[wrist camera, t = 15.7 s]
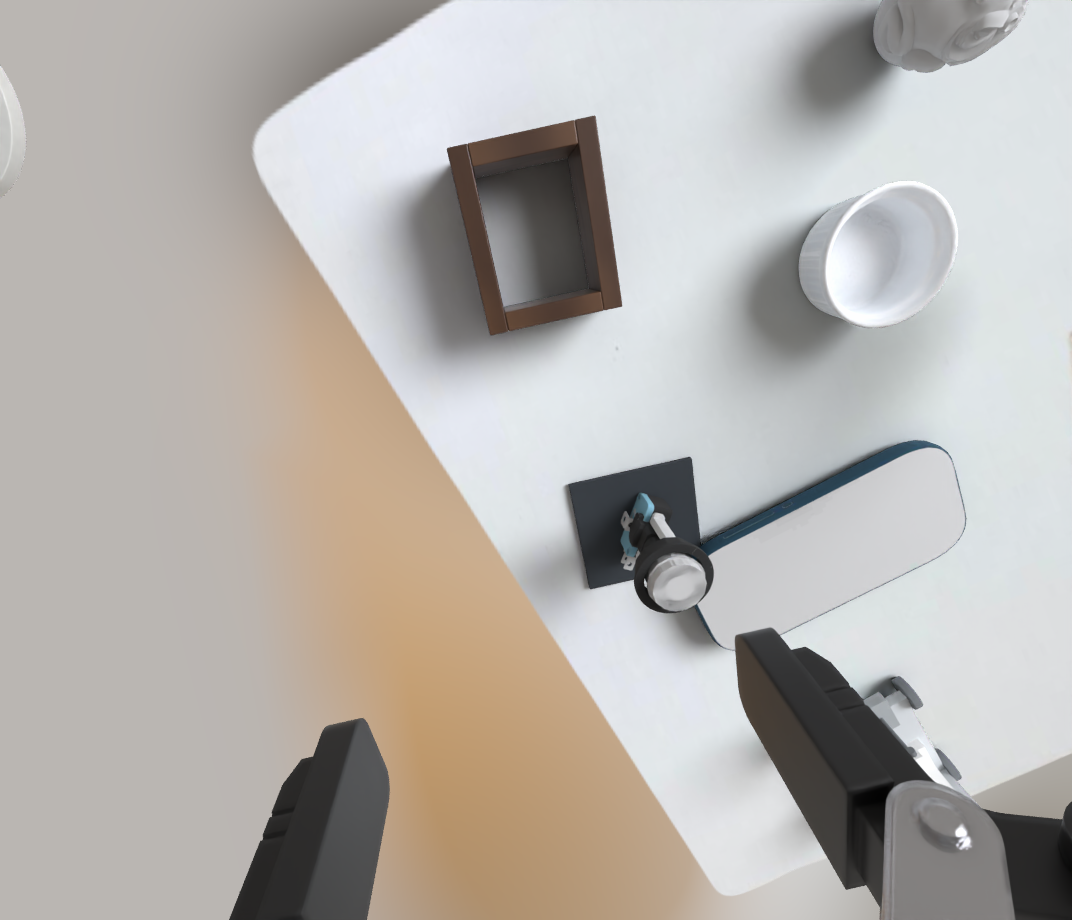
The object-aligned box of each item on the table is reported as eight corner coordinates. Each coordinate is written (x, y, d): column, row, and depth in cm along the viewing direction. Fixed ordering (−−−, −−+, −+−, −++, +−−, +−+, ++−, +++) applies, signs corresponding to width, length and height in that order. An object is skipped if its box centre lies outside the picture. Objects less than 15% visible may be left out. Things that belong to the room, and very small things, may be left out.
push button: (651, 566, 45) (693, 645, 36) (593, 553, 44) (620, 629, 35) (680, 498, 43) (733, 562, 34) (620, 482, 42) (657, 543, 33)
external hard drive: (715, 648, 49) (724, 663, 47) (667, 555, 45) (675, 568, 43) (954, 530, 47) (974, 541, 45) (927, 422, 43) (947, 429, 41)
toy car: (841, 805, 44) (971, 737, 42) (780, 711, 53) (885, 652, 51) (912, 908, 50) (1029, 852, 48) (846, 808, 59) (942, 758, 57)
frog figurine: (918, 106, 35) (1016, 70, 28) (827, 67, 34) (908, 20, 27) (967, -2, 33) (1085, -68, 27) (873, -48, 32) (972, -128, 25)
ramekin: (795, 336, 40) (830, 345, 36) (782, 211, 37) (818, 205, 32) (910, 301, 39) (958, 305, 35) (906, 173, 36) (959, 161, 32)
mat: (589, 586, 46) (590, 589, 45) (568, 483, 42) (569, 485, 42) (701, 561, 46) (703, 564, 46) (689, 456, 42) (691, 458, 42)
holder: (490, 327, 38) (490, 335, 33) (451, 162, 34) (446, 147, 30) (607, 301, 38) (622, 306, 33) (582, 133, 34) (595, 115, 30)
